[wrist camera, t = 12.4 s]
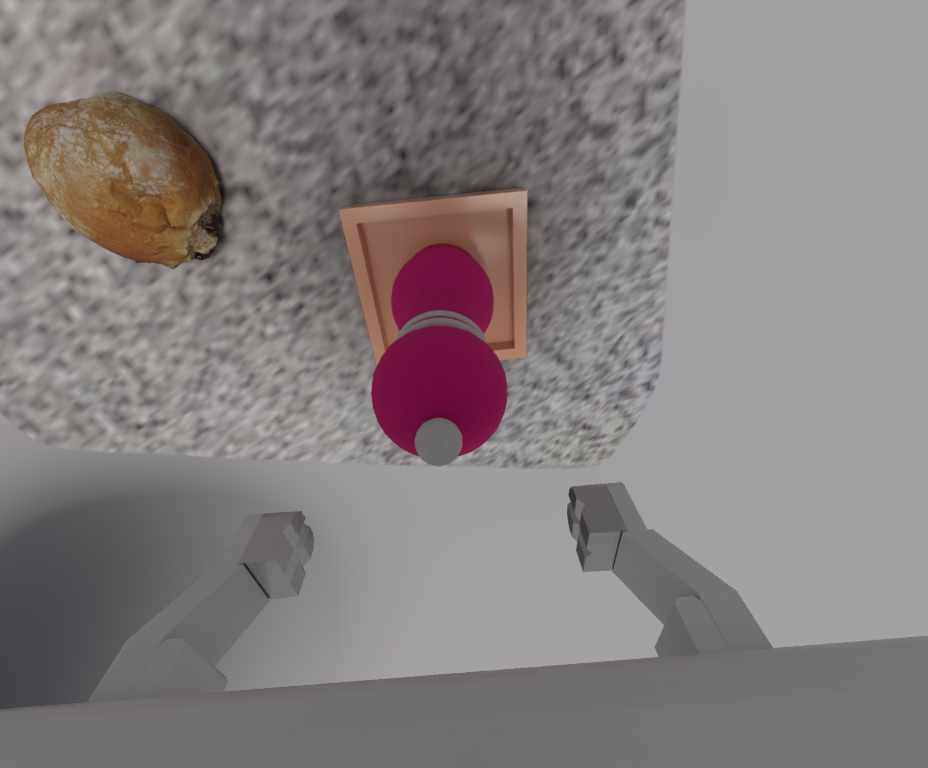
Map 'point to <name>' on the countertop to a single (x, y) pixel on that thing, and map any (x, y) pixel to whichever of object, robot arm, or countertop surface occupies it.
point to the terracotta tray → (448, 222)
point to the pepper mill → (440, 359)
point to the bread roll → (126, 178)
